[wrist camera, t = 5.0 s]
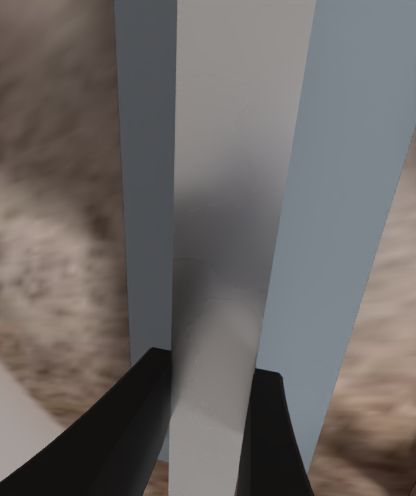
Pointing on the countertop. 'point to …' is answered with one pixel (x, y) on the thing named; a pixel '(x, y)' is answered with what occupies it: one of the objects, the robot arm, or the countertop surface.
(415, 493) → the cradle rack
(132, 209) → the slate mat
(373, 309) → the countertop surface
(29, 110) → the countertop surface
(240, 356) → the steel rail
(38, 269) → the countertop surface
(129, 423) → the robot arm
